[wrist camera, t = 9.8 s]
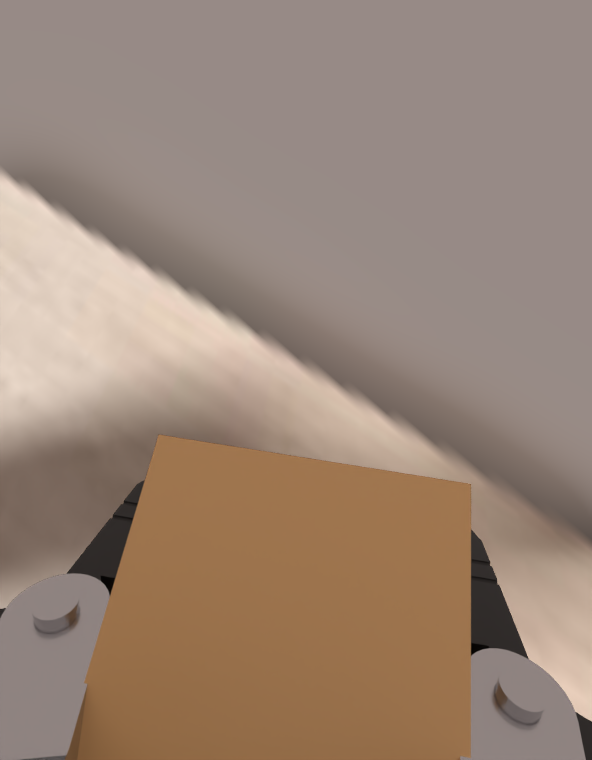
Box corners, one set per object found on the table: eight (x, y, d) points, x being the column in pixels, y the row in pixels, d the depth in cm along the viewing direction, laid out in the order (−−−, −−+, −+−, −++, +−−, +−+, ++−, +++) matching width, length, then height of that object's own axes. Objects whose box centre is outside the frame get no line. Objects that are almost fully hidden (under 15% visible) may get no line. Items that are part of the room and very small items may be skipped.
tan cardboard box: (210, 668, 12) (36, 841, 4) (240, 520, 14) (159, 434, 6) (353, 695, 12) (470, 941, 4) (367, 541, 14) (470, 483, 5)
